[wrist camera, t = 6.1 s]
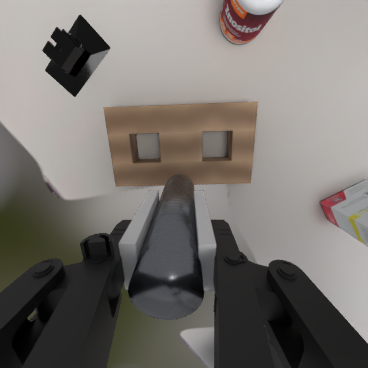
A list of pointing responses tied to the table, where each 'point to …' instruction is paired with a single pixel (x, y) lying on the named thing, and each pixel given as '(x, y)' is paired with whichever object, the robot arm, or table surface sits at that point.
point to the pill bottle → (246, 18)
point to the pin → (170, 257)
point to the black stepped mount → (75, 55)
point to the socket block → (182, 142)
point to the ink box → (350, 210)
